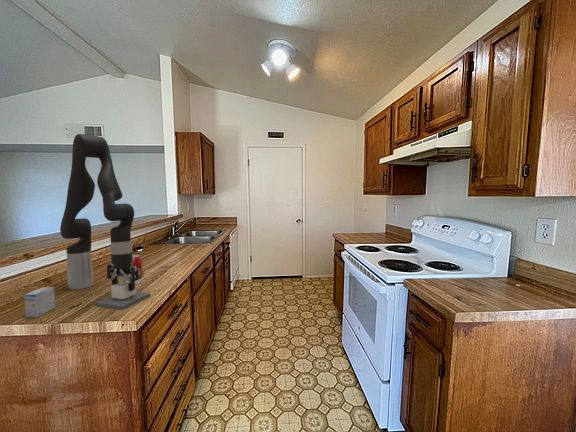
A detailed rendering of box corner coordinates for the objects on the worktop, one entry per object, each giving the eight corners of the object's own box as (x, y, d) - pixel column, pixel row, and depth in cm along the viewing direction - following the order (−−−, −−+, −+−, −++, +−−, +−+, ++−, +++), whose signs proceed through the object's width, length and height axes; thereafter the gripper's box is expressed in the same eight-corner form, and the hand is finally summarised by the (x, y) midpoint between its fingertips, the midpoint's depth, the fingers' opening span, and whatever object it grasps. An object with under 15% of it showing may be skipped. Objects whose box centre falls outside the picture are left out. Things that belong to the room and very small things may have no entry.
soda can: (124, 279, 137) (123, 257, 136) (135, 275, 144) (134, 254, 143) (135, 280, 136) (134, 257, 134) (145, 276, 142) (144, 254, 141)
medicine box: (44, 308, 102) (42, 287, 101) (56, 307, 103) (54, 286, 102) (25, 317, 94) (23, 294, 94) (38, 317, 95) (36, 294, 94)
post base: (95, 305, 104) (93, 281, 104) (125, 293, 118) (124, 271, 117) (122, 309, 101) (121, 285, 100) (150, 296, 114) (149, 274, 113)
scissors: (145, 278, 137) (133, 292, 118) (145, 280, 137) (133, 294, 118) (123, 280, 134) (106, 294, 115) (123, 282, 134) (106, 296, 115)
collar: (111, 297, 107) (111, 285, 106) (124, 292, 113) (123, 281, 112) (123, 299, 105) (122, 287, 105) (135, 293, 111) (134, 282, 111)
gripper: (99, 252, 106) (102, 291, 107) (127, 254, 102) (129, 294, 103) (116, 248, 113) (118, 285, 114) (142, 250, 109) (144, 288, 111)
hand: (123, 289), depth 109 cm, fingers open, 8 cm apart
